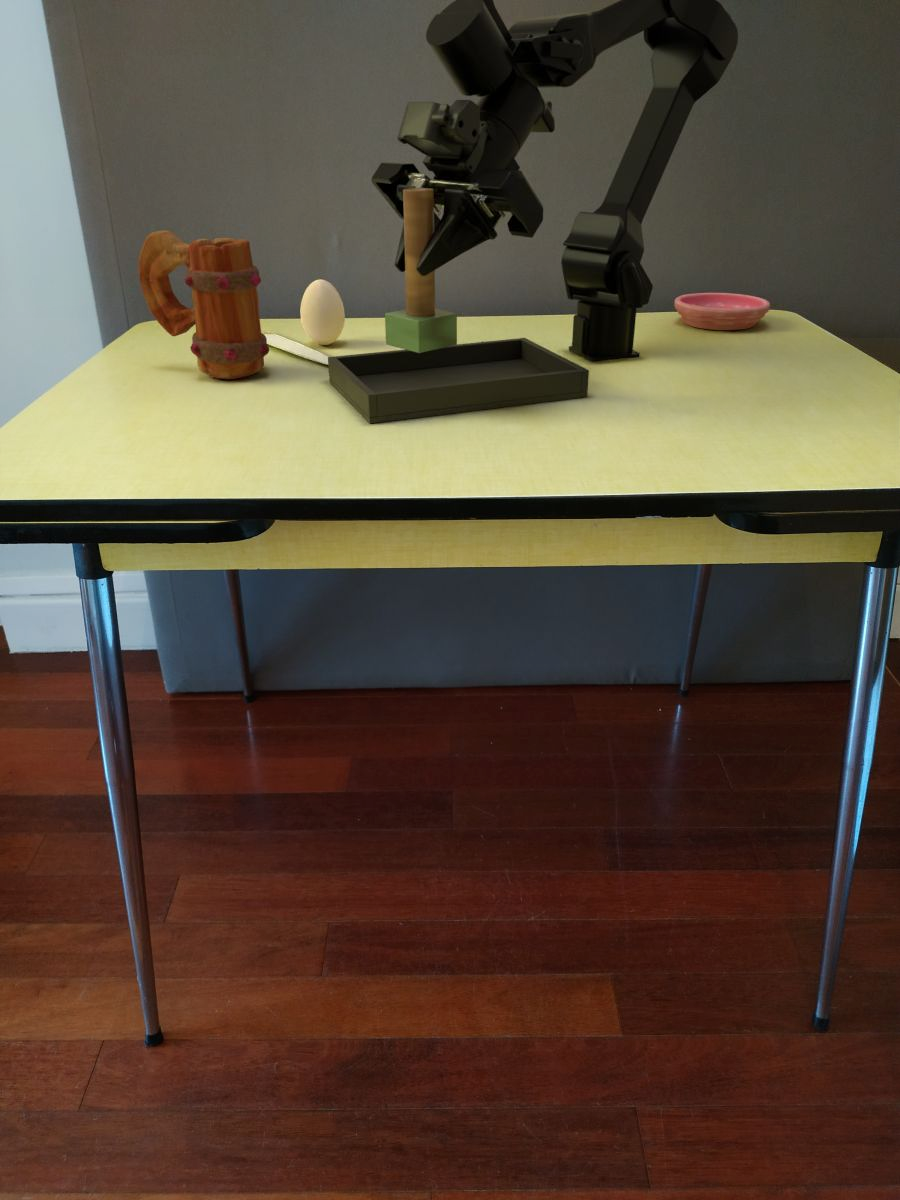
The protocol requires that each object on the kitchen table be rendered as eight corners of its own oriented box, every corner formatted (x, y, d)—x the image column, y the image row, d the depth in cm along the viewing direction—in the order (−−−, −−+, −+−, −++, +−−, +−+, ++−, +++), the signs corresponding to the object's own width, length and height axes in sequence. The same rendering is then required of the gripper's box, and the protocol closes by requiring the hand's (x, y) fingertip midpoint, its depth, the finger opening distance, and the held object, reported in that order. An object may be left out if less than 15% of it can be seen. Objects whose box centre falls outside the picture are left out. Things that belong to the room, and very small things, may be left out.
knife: (362, 373, 107) (327, 374, 104) (227, 321, 129) (195, 320, 126) (363, 362, 106) (328, 363, 103) (227, 311, 129) (195, 311, 126)
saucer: (669, 313, 131) (671, 290, 129) (758, 315, 129) (762, 292, 127) (676, 332, 120) (678, 308, 118) (773, 335, 118) (777, 310, 117)
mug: (287, 368, 105) (274, 229, 98) (252, 387, 99) (235, 239, 91) (179, 358, 110) (159, 224, 102) (138, 376, 103) (113, 234, 96)
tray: (524, 361, 107) (524, 337, 106) (587, 396, 95) (589, 370, 93) (329, 382, 100) (327, 356, 99) (369, 423, 87) (368, 395, 86)
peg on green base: (423, 336, 93) (420, 185, 86) (457, 344, 90) (457, 189, 83) (385, 344, 90) (379, 189, 83) (419, 353, 87) (415, 192, 80)
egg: (351, 340, 117) (347, 276, 113) (339, 350, 113) (335, 284, 109) (310, 339, 118) (305, 275, 114) (297, 349, 113) (291, 283, 110)
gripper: (382, 68, 86) (296, 202, 85) (526, 62, 74) (429, 218, 73) (443, 156, 95) (366, 280, 94) (582, 164, 83) (495, 305, 82)
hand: (408, 270), depth 85 cm, fingers closed on peg on green base, 3 cm apart
